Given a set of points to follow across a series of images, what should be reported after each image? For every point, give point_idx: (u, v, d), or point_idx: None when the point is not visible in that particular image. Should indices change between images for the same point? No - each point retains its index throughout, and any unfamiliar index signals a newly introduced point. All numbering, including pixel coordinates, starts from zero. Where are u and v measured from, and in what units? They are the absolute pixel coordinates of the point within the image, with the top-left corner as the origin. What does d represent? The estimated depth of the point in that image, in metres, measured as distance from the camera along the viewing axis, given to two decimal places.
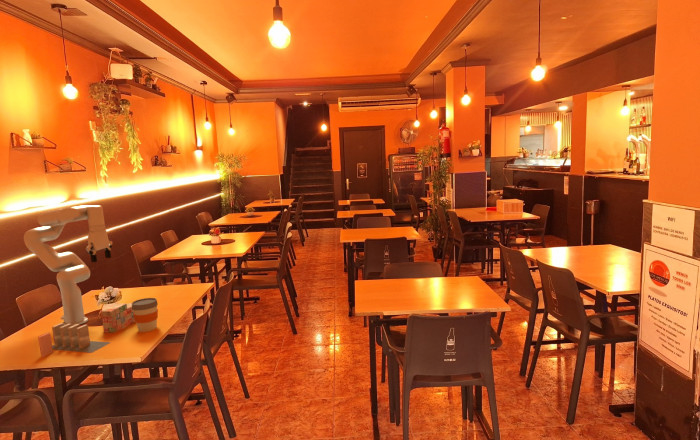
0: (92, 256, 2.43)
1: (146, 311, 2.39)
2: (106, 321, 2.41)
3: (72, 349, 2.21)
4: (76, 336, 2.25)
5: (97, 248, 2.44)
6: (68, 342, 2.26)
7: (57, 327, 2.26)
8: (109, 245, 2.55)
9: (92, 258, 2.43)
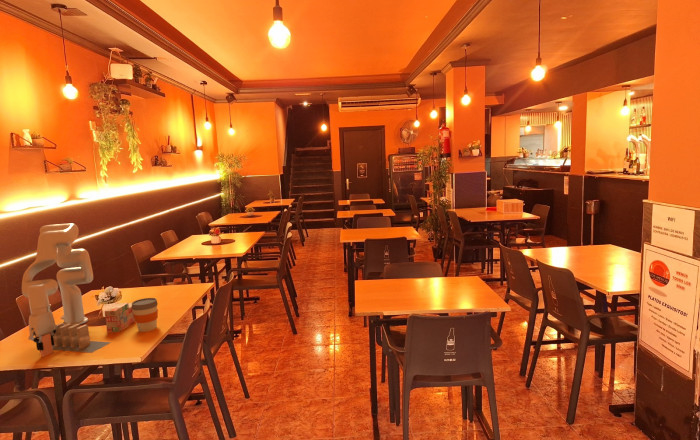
0: (38, 344, 2.13)
1: (146, 311, 2.39)
2: (110, 320, 2.42)
3: (72, 349, 2.21)
4: (76, 336, 2.25)
5: (39, 334, 2.12)
6: (68, 342, 2.26)
7: None
8: None
9: (38, 346, 2.13)
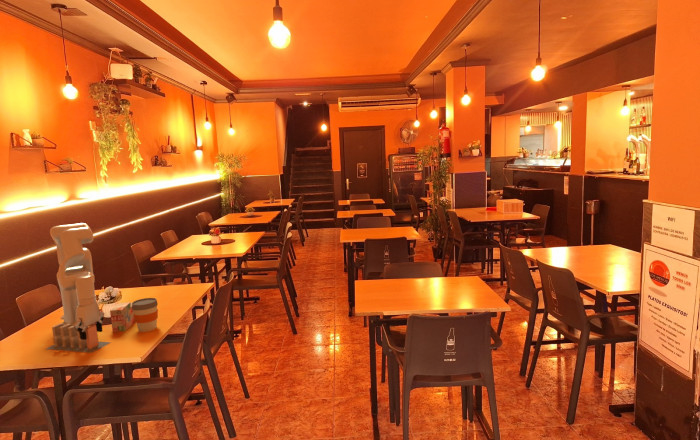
0: (81, 333, 2.17)
1: (146, 311, 2.39)
2: (116, 320, 2.42)
3: (72, 349, 2.21)
4: (76, 336, 2.25)
5: (87, 324, 2.17)
6: (68, 342, 2.26)
7: (57, 327, 2.26)
8: None
9: (81, 335, 2.17)
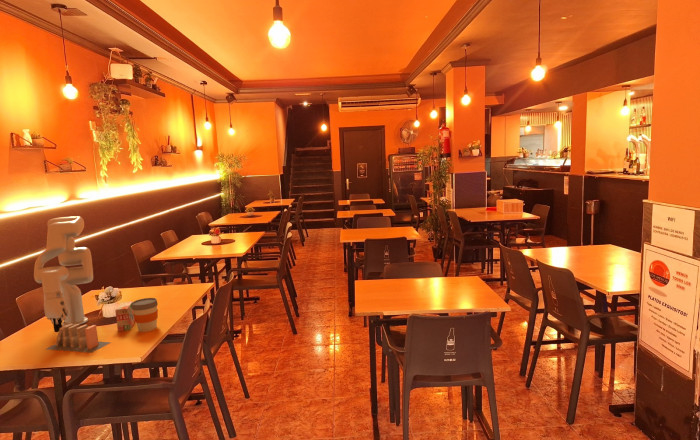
0: None
1: (146, 311, 2.39)
2: (121, 319, 2.43)
3: (72, 349, 2.21)
4: (76, 336, 2.25)
5: (46, 316, 2.26)
6: (68, 342, 2.26)
7: None
8: (60, 318, 2.26)
9: None
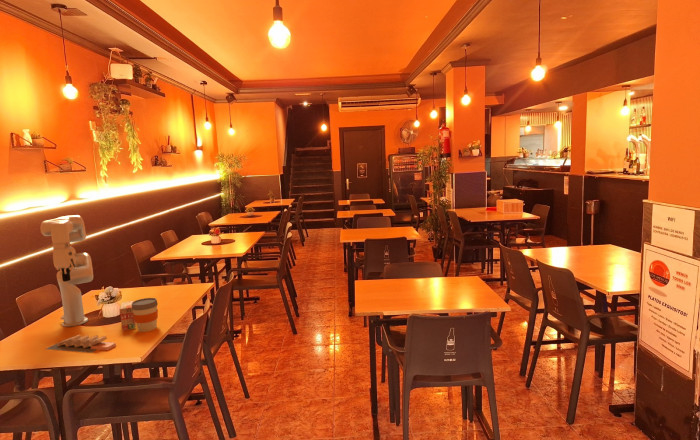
0: None
1: (146, 311, 2.39)
2: (126, 318, 2.44)
3: (72, 349, 2.21)
4: None
5: (55, 266, 2.36)
6: None
7: (74, 340, 2.25)
8: (68, 268, 2.37)
9: None
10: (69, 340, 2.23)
